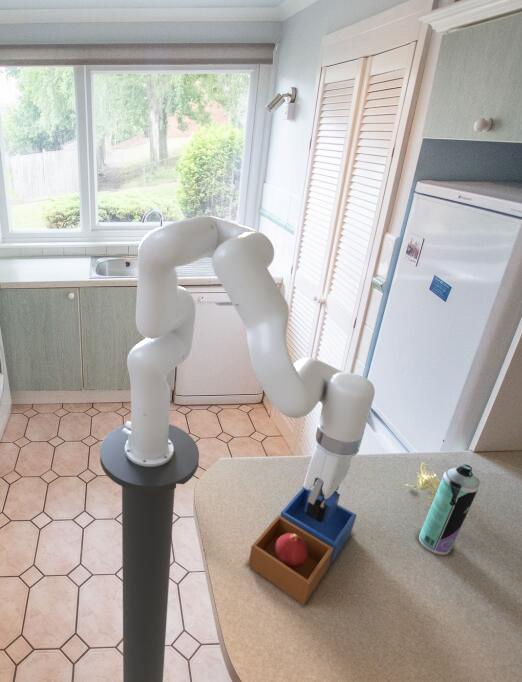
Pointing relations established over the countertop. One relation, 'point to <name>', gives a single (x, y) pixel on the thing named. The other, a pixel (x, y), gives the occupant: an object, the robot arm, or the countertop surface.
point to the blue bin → (328, 532)
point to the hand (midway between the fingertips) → (320, 509)
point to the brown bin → (287, 578)
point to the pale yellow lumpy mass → (427, 481)
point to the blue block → (328, 505)
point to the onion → (291, 550)
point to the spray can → (449, 509)
